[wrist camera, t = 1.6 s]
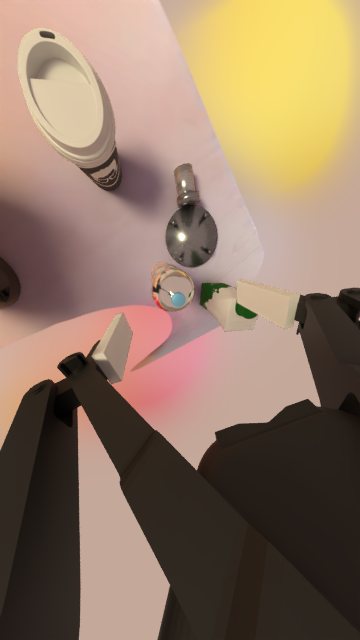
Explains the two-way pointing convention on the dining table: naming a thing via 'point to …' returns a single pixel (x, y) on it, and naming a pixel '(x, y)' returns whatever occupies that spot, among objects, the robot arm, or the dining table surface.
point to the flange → (190, 224)
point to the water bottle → (171, 287)
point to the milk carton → (226, 307)
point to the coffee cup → (69, 104)
